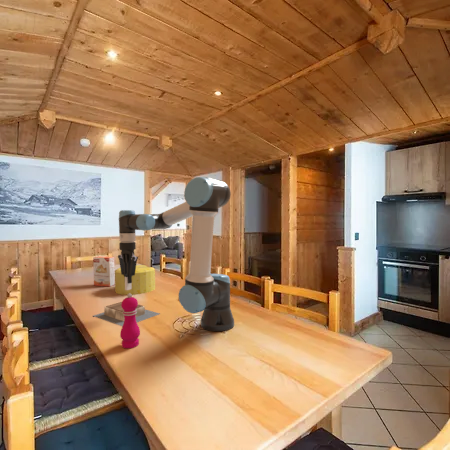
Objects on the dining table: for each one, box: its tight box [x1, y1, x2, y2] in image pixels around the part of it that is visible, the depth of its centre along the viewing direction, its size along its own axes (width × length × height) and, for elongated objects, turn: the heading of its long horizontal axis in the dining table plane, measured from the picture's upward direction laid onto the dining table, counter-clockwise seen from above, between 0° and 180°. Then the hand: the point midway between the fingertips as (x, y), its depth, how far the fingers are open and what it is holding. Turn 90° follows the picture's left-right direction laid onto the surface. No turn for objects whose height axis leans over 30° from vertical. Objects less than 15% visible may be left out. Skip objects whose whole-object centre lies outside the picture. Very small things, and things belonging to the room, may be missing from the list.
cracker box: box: [92, 255, 116, 288], centre depth 208 cm, size 14×6×21 cm, turn 73°
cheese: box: [114, 264, 156, 296], centre depth 196 cm, size 26×26×15 cm
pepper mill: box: [119, 293, 141, 349], centre depth 110 cm, size 7×7×20 cm
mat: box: [92, 309, 161, 327], centre depth 144 cm, size 26×21×1 cm
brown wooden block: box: [104, 301, 146, 321], centre depth 144 cm, size 4×12×16 cm
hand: (128, 289), depth 142 cm, fingers closed
